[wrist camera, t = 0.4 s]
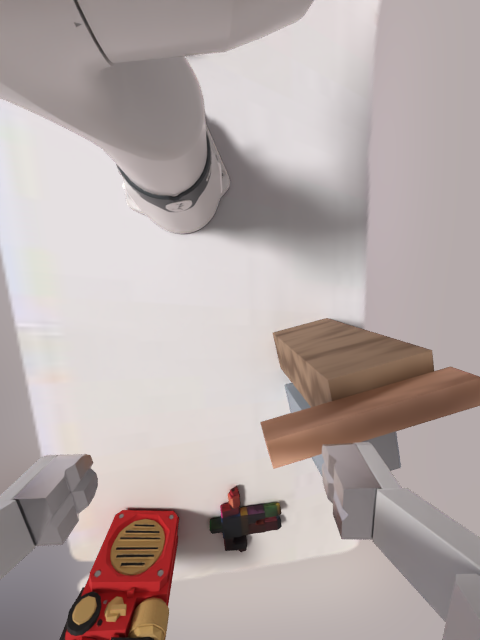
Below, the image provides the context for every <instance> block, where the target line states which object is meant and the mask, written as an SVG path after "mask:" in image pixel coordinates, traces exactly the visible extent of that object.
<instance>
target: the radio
mask: <svg viewBox="0 0 480 640" xmlns="http://www.w3.org/2000/svg"><path fill="white" fill-rule="evenodd" d="M178 523H179V517H177V515H176V514H175V512H174V511H141V510H122V511H121V512H119V513H118V514H116V515H115V517H114V520H113V522H112V524H111V526H110V529H109V531H108V533H107V535H106V538H105V540H104V542H103V545H102V547H101V549H100V551H99V554H98V556H97V558H96V560H95V563H94V565H93V568H92V570H91V572H90V576H89V579H88V581H87V584H86V586H85V588H84V587H83V588H82V590H81V592H80V594H79V596H78V598H77V599H76V601H75V602H74V604H73V605H72V608H71V609H70V611H69V615H68V619H67V622H66V625H65V627H64V630H63V632H62V635H61V637H60V640H165V637H166V631H167V624H168V616H169V608H168V603H169V596H170V589H171V583H172V576H173V570H174V563H175V557H176V550H177V543H178V536H177V532H178Z"/></svg>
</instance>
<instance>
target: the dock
mask: <svg viewBox="0 0 480 640" xmlns="http://www.w3.org/2000/svg"><path fill="white" fill-rule="evenodd" d="M285 389H286V393H287V398H288V402H289V407H290V411H291V413H294V412H297V411H300V410H304V409H307V408H311V407H310V405H309V404H308V403H307V401H306V400H305V399H304V398H303V396H302V395H301V394H300V392H299V391H298V390H297V388H296V387H295V386H294V385H293V383H289V384H286V385H285ZM363 442H369V443H371V444H372V445H373V447H374V448H375V449H376V451H377V452H378V454H379V455H380V457H381V458H382V460H383V461H384V462H385V464H386V465H387V467H388V468H389V470H390V471H391V470H394V469H398V468H400V467H401V463H400V456H399V449H398V442H397V435H396V431H395V432H392V433H389V434H385V435H382V436H379V437H376V438H372V439H369V440H366V441H363ZM312 459H313V461H314V463H315V465H316V466H317V468H318V470H319V472H320V474H321V476H322V464H323V463H324V462H325V461H324V459H323V456H322V454H320V455H317V456H314V457H312Z"/></svg>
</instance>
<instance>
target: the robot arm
mask: <svg viewBox="0 0 480 640" xmlns="http://www.w3.org/2000/svg"><path fill="white" fill-rule="evenodd" d="M313 1H314V0H0V99H3V100H6V101H8V102H10V103H13V104H15V105H17V106H19V107H22V108H24V109H26V110H28V111H31V112H33V113H35V114H37V115H39V116H41V117H43V118H46V119H48V120H50V121H52V122H54V123H56V124H58V125H60V126H62V127H64V128H66V129H68V130H70V131H72V132H74V133H76V134H78V135H80V136H81V137H83V138H85V139H87V140H89V141H91V142H92V143H94V144H95V145H97V146H98V147H100V148H101V149H102V150H103V151H104V152H105V153H106V154H107V155H108V156H109V157H110V158H111V159H112V160H113V161H114V162H115V163H116V165H117V168H118V171H119V174H120V175H122V176H123V181H124V183H123V184H122V186H123V188H124V190H125V195H126V202H127V204H128V206H129V207H130V208H131V209H132V210H134V211H136V212H139V213H141V214H144V215H146V216H147V217H148V218H149V219H151V220H152V221H153V222H154V223H155V224H156V225H158V226H159V227H161V228H162V229H164V230H166V231H169V232H173V233H179V234H185V233H191V232H194V231H197V230H199V229H201V228H202V227H204V226H205V225H206V224H207V223H208V222H209V221H210V220H211V219H212V217H213V216H214V214H215V212H216V210H217V207H218V204H219V201H220V199H221V197H222V196H223V195H224V194H225V192H226V191H227V190H228V189H229V187H230V178H229V176H228V174H227V171H226V169H225V167H224V164H223V162H222V160H221V157H220V155H219V153H218V150H217V148H216V146H215V143H214V141H213V139H212V136H211V134H210V132H209V129H208V127H207V125H206V122H205V109H204V99H203V95H202V91H201V87H200V85H199V82H198V79H197V77H196V75H195V73H194V71H193V69H192V67H191V66H190V64H189V62H188V61H187V59H186V58H185V56H190V55H200V54H210V53H220V52H226V51H229V50H231V49H234V48H237V47H239V46H242V45H244V44H247V43H249V42H252V41H255V40H257V39H260V38H262V37H264V36H267V35H269V34H271V33H273V32H275V31H277V30H280V29H282V28H284V27H286V26H288V25H291V24H293V23H295V22H297V21H298V20H300V19H301V18H302V17H303V16H304V15H305V13H306V12H307V11H308V9H309V7H310V6H311V4H312V3H313ZM222 175H223V177H222ZM322 456H323V459H324V461H325V462H324V463H323V464H322V478H323V484H324V488H325V492H326V495H327V498H328V499H329V500H330V501H331V502H332V503H333V516H334V518H335V521H336V524H337V527H338V530H339V533H340V536H341V539H372V540H373V542H374V544H375V545H376V546H377V547H378V548H379V549H380V550H381V551H382V552H383V553H384V555H385V556H386V557H387V558H388V559H389V560H390V561H391V562H392V564H393V565H394V566H395V567H396V568H397V569H398V570H399V571H400V572H401V573H402V575H403V576H404V577H405V578H406V579H407V580H408V581H409V582H410V583H411V585H412V586H413V587H414V588H415V589H416V590H417V591H418V592H419V593H420V594H421V596H422V597H423V598H424V599H425V600H426V601H427V602H428V603H429V605H430V606H431V607H432V608H433V609H434V610H435V611H436V612H437V613H438V614H439V616H440V617H441V618H442V619H443V620H444V621H445V622H446V625H445V629H444V634H443V639H442V640H480V537H479V536H477V535H475V534H474V533H473V532H471V531H470V530H468V529H467V528H465V527H464V526H462V525H461V524H459V523H458V522H457V521H455V520H454V519H452V518H451V517H449V516H448V515H446V514H445V513H443V512H442V511H440V510H439V509H437V508H436V507H435V506H433V505H432V504H430V503H429V502H427V501H426V500H424V499H423V498H421V497H420V496H418V495H417V494H415V493H414V492H412V491H411V490H410V489H408V488H402V487H401V486H400V484H399V483H398V481H397V480H396V478H395V477H394V475H393V474H392V473H391V471H390V470H389V468H388V467H387V465H386V464H385V462H384V461H383V460H382V458H381V457H380V455H379V454H378V452H377V451H376V449H375V448H374V447H373V445H372V444H371V443H369V442H359V443H343V444H323V446H322ZM92 464H93V461H92V458H91V456H90V455H87V454H73V455H46V456H44V457H41V458H40V459H39V460H38V461H37V462H36V463H34V464H33V465H32V466H31V467H30V468H29V469H28V470H27V471H26V472H25V473H24V474H23V475H22V476H21V477H20V478H19V479H17V480H16V481H15V482H14V483H13V484H12V485H11V486H10V487H9V488H8V489H7V490H6V491H5V492H4V493H3V494H1V495H0V579H1V578H3V577H4V576H5V575H6V574H7V573H8V572H9V571H10V570H11V569H13V568H14V567H15V566H16V565H17V564H18V563H19V562H20V561H22V560H23V559H24V558H25V557H26V556H27V555H28V554H29V553H30V552H31V551H33V549H35V546H47V545H62V544H63V543H64V542H65V541H66V539H67V538H68V536H69V535H70V533H71V532H72V530H73V528H74V527H75V525H76V524H77V522H78V521H79V513H80V512H81V511H82V510H84V509H85V508H86V507H87V506H89V504H90V502H91V501H92V499H93V498H94V495H95V492H96V489H97V486H98V478H97V475H96V473H95V472H94V471H93V470H92V469H91V466H92Z"/></svg>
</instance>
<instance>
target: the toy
mask: <svg viewBox="0 0 480 640" xmlns="http://www.w3.org/2000/svg"><path fill="white" fill-rule="evenodd" d="M239 497H240V495H239V491H238V487H237V486H236V487H235V488H232V489H231V490H230V492H229V493H228V498H229V503H227V504H223V505H221V506H220V508H221V518H216V519H211V520H210V531H211V533H212V534H214V533H220V532H222V533H223V538H224V544H225V550H226V551H230V550H239V551H240V552H243V551H246V548H247V538H246V535H248V534H253V533H261V532H266V531H271V530H278V529H280V528H281V518H280V516H279V515H280V514H281V507H280V504H279V503H269V504H264V505H256V506H247V507H241V508H239V506H240V499H239Z"/></svg>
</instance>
